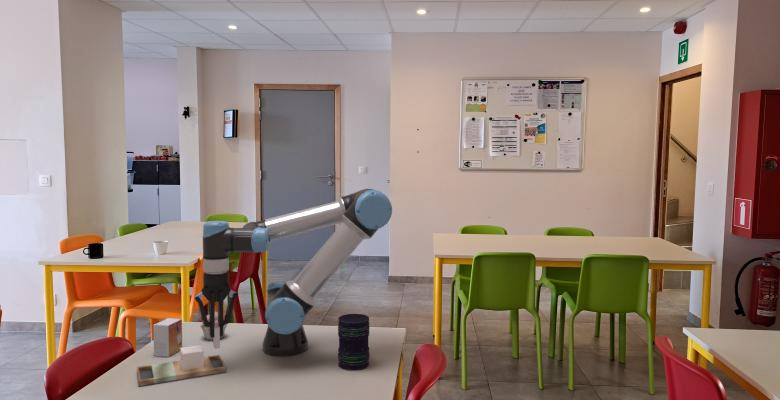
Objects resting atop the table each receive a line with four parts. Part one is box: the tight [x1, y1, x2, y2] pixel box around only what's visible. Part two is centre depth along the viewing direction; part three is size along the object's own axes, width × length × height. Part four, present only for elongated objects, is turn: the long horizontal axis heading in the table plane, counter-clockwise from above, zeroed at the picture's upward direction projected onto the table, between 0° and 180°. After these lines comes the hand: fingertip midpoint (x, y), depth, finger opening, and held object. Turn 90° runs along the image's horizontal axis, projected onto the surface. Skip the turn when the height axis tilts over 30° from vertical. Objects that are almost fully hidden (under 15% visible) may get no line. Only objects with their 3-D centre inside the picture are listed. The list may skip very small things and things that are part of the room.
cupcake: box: [199, 311, 228, 341], centre depth 197 cm, size 9×9×10 cm
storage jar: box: [337, 313, 370, 372], centre depth 171 cm, size 10×10×15 cm
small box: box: [152, 317, 183, 358], centre depth 181 cm, size 8×6×10 cm
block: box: [179, 344, 205, 371], centre depth 166 cm, size 6×6×5 cm
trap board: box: [136, 354, 227, 388], centre depth 165 cm, size 24×12×2 cm, turn 117°
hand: (216, 346), depth 169 cm, fingers closed
